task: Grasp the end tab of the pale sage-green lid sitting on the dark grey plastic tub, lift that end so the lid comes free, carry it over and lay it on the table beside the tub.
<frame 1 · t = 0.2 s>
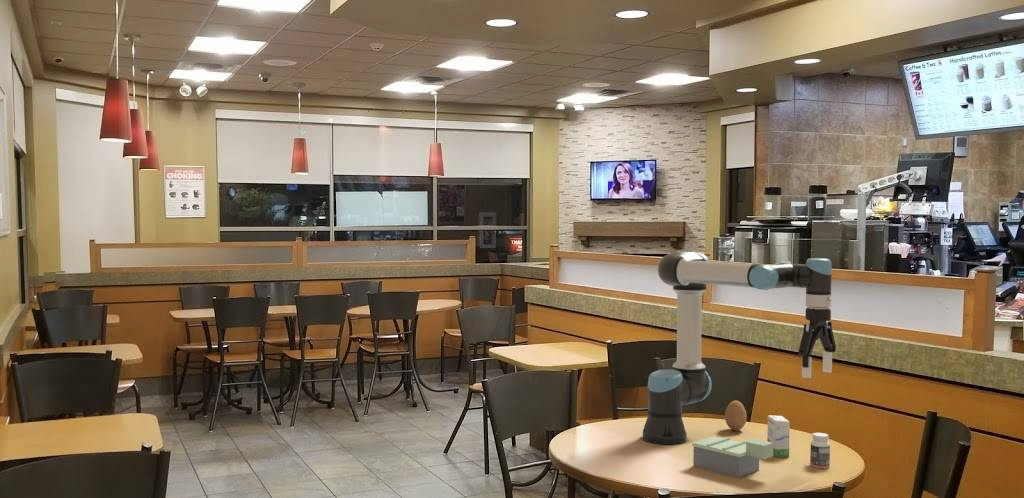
hand: (817, 375, 267), 28 cm above the table, fingers open, 13 cm apart
egg: (735, 430, 308), on the table
pill bottle: (819, 466, 264), on the table
tub: (725, 470, 259), on the table
ink box: (778, 454, 278), on the table
lid: (726, 447, 259), point 7 cm above the table, touching tub
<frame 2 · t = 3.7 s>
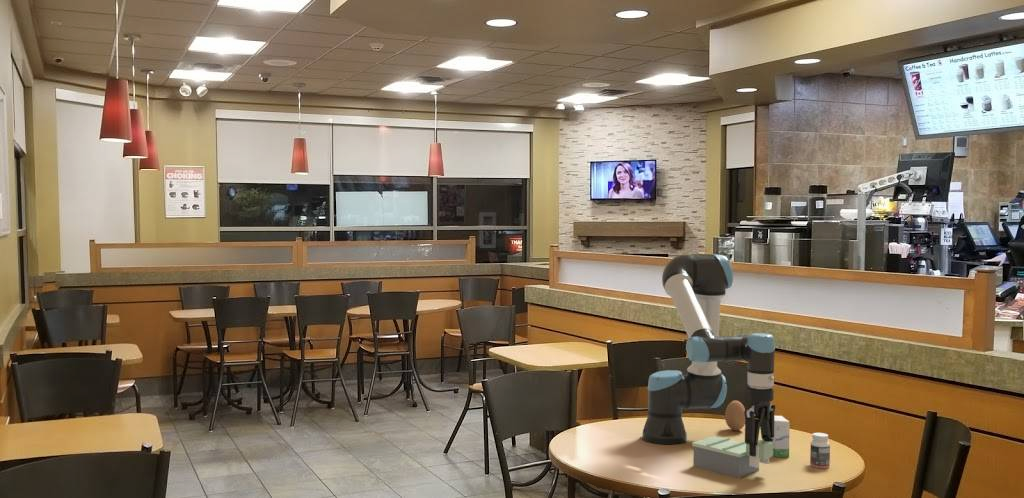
hand: (759, 464, 250), 4 cm above the table, fingers closed on lid, 5 cm apart
lid: (726, 447, 259), point 7 cm above the table, touching gripper, tub
everything else where it was.
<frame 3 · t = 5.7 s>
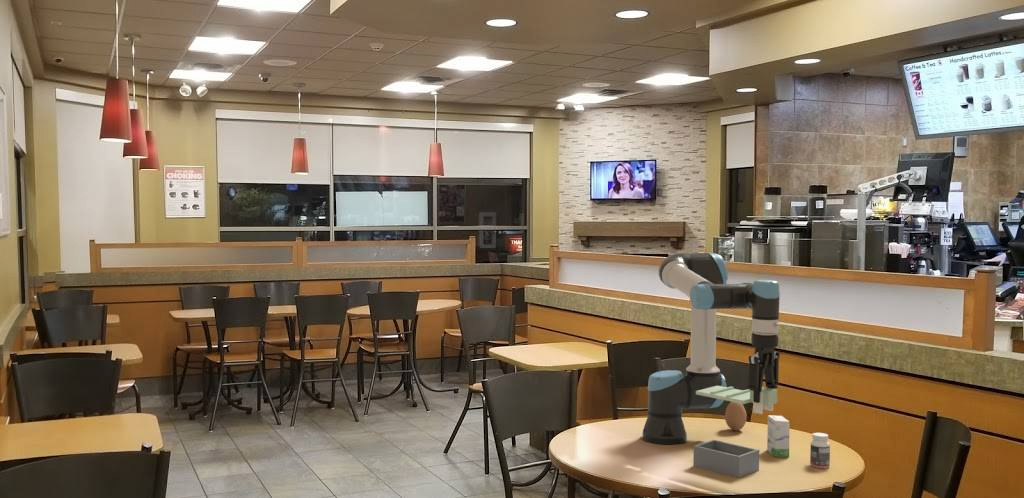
hand: (763, 411, 249), 20 cm above the table, fingers closed on lid, 5 cm apart
lid: (729, 396, 257), point 23 cm above the table, touching gripper
everything else where it was.
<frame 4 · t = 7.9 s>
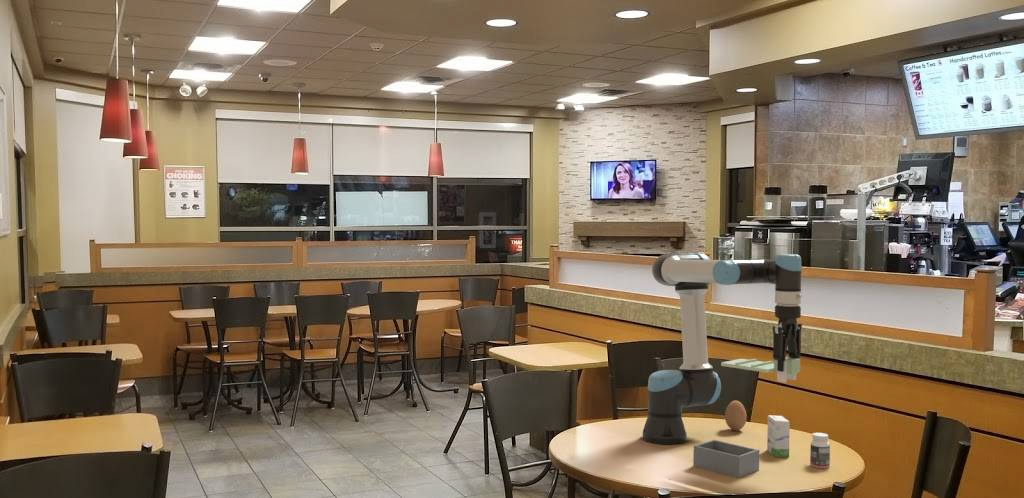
hand: (786, 380, 260), 27 cm above the table, fingers closed on lid, 5 cm apart
lid: (754, 367, 268), point 30 cm above the table, touching gripper
everything else where it was.
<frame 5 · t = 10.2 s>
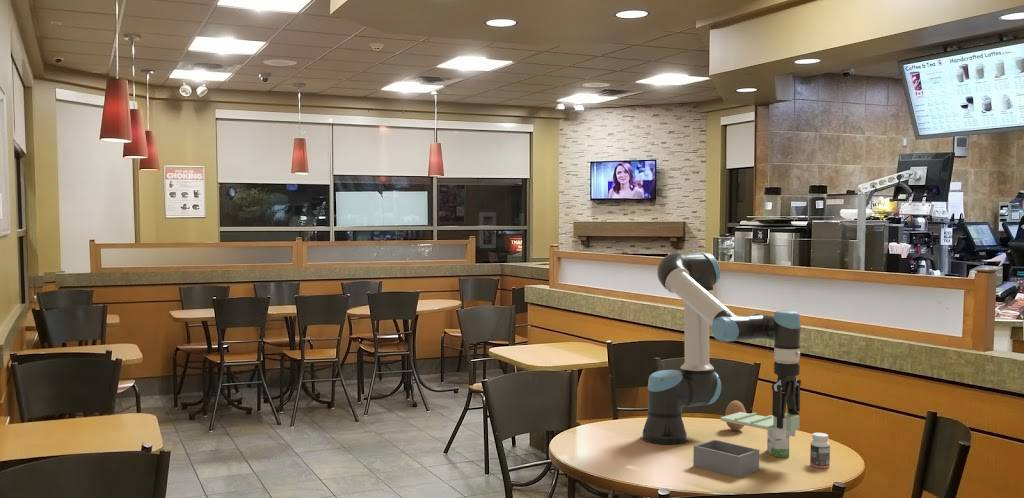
hand: (786, 437, 260), 10 cm above the table, fingers closed on lid, 5 cm apart
lid: (753, 422, 268), point 13 cm above the table, touching gripper
everything else where it was.
when the fingers open (0 cm above the table, at t = 12.2 s): lid drops 3 cm, on the table.
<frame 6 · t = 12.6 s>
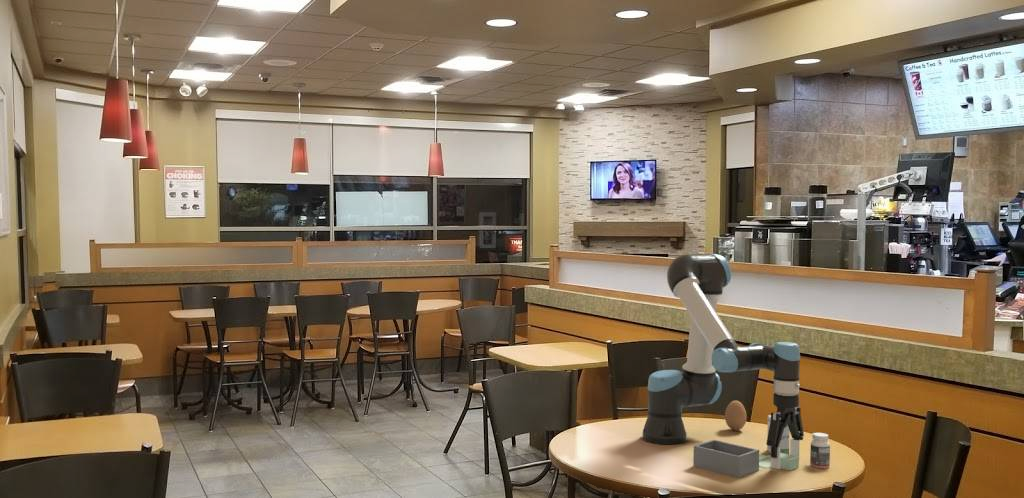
hand: (785, 464, 261), 1 cm above the table, fingers open, 11 cm apart
lid: (752, 461, 269), on the table
everything else where it was.
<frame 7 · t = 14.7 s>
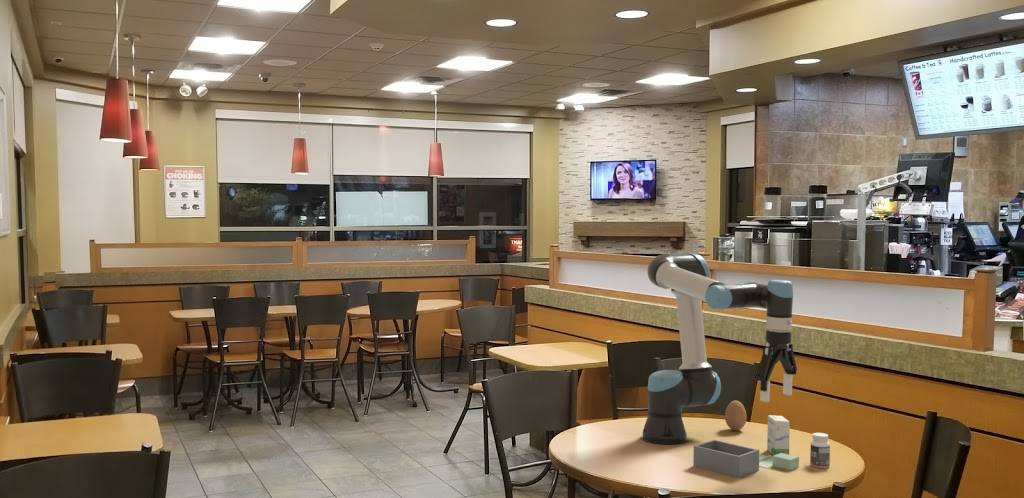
hand: (776, 398, 264), 21 cm above the table, fingers open, 13 cm apart
nothing on the table moved.
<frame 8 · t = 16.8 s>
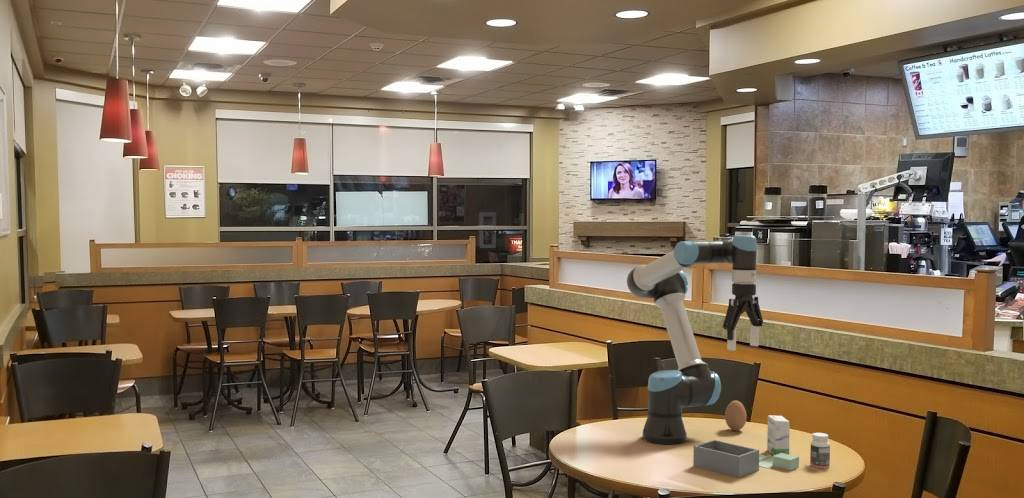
hand: (743, 348, 276), 35 cm above the table, fingers open, 13 cm apart
at the end: lid on the table; lid touching table; lid inside the target area (1.3 cm from its centre), on the table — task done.
